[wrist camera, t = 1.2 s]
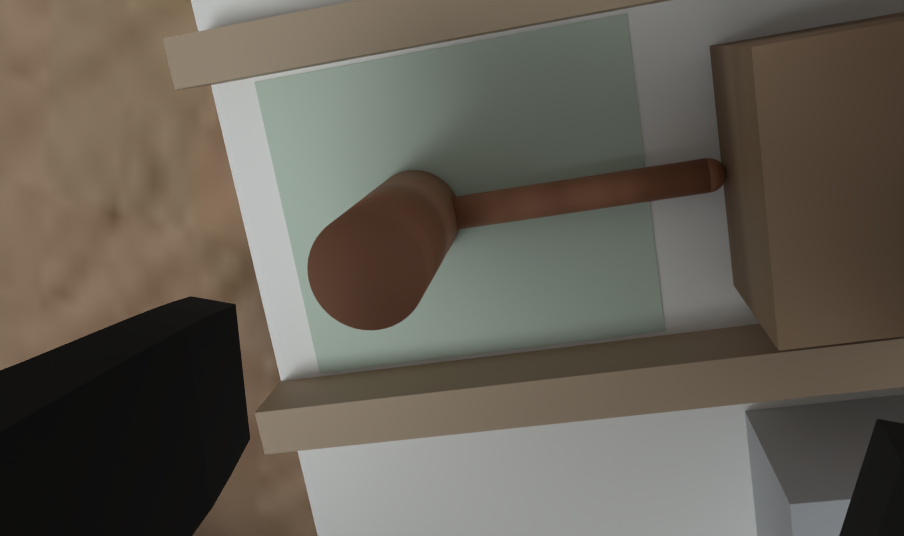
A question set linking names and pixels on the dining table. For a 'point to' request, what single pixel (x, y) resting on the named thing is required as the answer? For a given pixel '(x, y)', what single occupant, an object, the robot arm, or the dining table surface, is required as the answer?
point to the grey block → (811, 461)
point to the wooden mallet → (745, 189)
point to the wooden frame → (511, 262)
